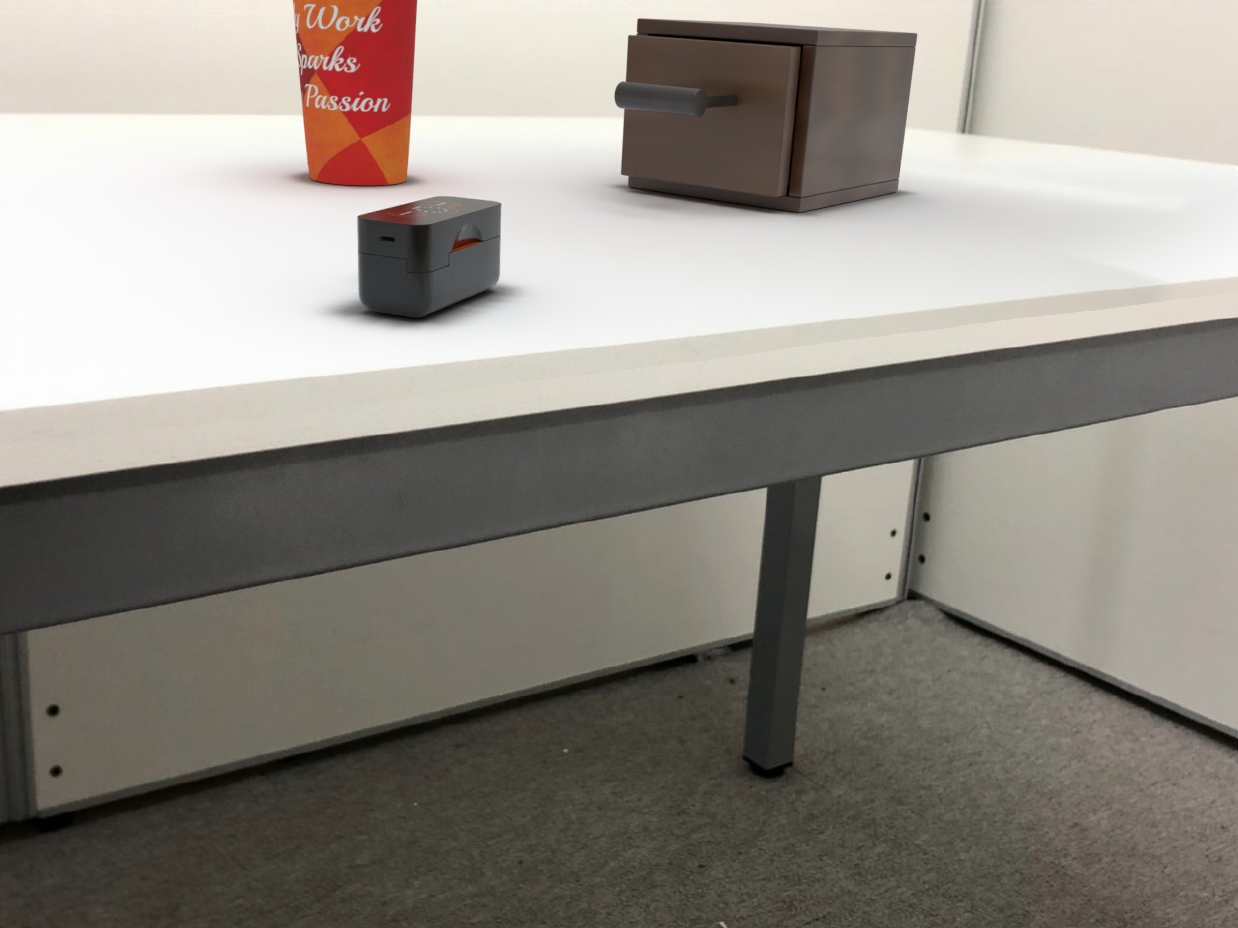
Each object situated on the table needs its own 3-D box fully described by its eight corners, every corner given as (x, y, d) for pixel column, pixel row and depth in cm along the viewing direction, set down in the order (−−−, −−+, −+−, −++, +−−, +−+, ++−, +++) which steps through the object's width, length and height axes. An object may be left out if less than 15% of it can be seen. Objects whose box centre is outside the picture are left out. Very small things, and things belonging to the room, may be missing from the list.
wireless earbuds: (514, 285, 49) (516, 200, 48) (423, 323, 42) (423, 226, 41) (407, 270, 50) (407, 187, 49) (304, 305, 44) (301, 211, 43)
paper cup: (261, 176, 72) (249, -91, 67) (354, 166, 78) (350, -80, 73) (364, 193, 68) (360, -89, 64) (454, 181, 75) (456, -77, 70)
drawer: (731, 206, 65) (744, 46, 62) (569, 181, 70) (575, 34, 68) (872, 179, 78) (888, 48, 76) (728, 161, 84) (738, 37, 81)
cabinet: (799, 212, 70) (817, 30, 67) (627, 187, 76) (636, 18, 73) (897, 191, 81) (918, 33, 77) (740, 170, 87) (752, 22, 83)
